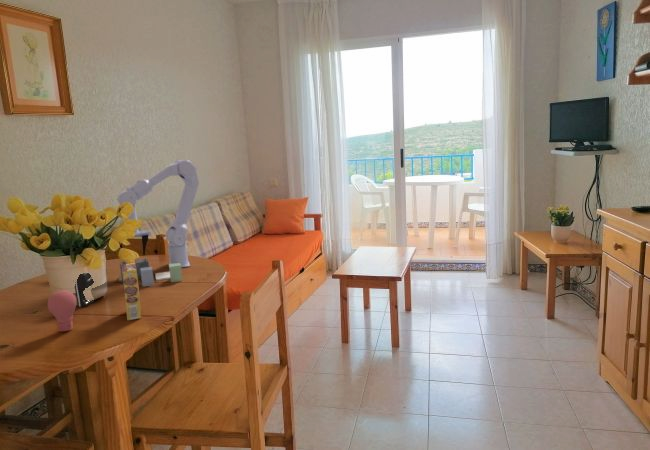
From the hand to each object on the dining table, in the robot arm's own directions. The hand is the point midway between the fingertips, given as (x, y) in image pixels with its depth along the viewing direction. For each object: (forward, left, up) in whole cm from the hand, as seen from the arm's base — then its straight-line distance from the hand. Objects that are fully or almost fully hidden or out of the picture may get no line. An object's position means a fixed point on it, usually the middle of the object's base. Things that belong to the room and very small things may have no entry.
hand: (133, 255), depth 185 cm
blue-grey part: (+17, +4, -8) cm, 19 cm away
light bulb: (+51, -19, -8) cm, 55 cm away
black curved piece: (+29, -15, -8) cm, 34 cm away
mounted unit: (+6, 0, -7) cm, 10 cm away
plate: (+10, +11, -7) cm, 17 cm away
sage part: (+17, +14, -8) cm, 23 cm away
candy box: (+47, -1, -8) cm, 48 cm away
